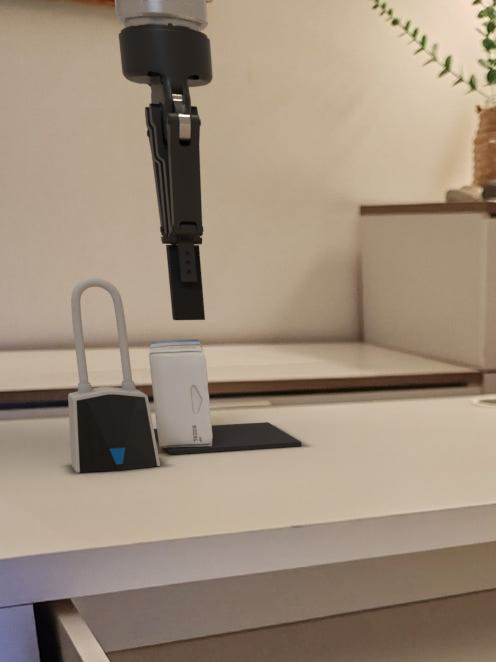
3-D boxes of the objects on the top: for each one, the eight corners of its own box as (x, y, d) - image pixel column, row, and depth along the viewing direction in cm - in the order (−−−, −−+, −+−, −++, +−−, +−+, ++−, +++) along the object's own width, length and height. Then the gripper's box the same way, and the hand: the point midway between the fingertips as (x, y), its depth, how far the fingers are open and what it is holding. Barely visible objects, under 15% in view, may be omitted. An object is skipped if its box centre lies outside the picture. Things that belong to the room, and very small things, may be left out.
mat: (149, 432, 103) (149, 428, 103) (268, 425, 108) (268, 422, 107) (170, 454, 92) (169, 450, 92) (301, 446, 96) (301, 441, 96)
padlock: (151, 458, 90) (132, 276, 85) (161, 466, 87) (142, 277, 81) (70, 464, 87) (46, 277, 82) (77, 473, 84) (52, 278, 78)
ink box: (149, 340, 100) (146, 350, 89) (202, 339, 101) (205, 349, 90) (159, 429, 103) (157, 449, 92) (210, 426, 104) (214, 446, 93)
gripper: (224, 20, 84) (244, 323, 92) (195, 46, 95) (215, 315, 103) (127, 10, 81) (157, 324, 89) (109, 39, 92) (137, 316, 100)
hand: (188, 319), depth 96 cm, fingers closed
